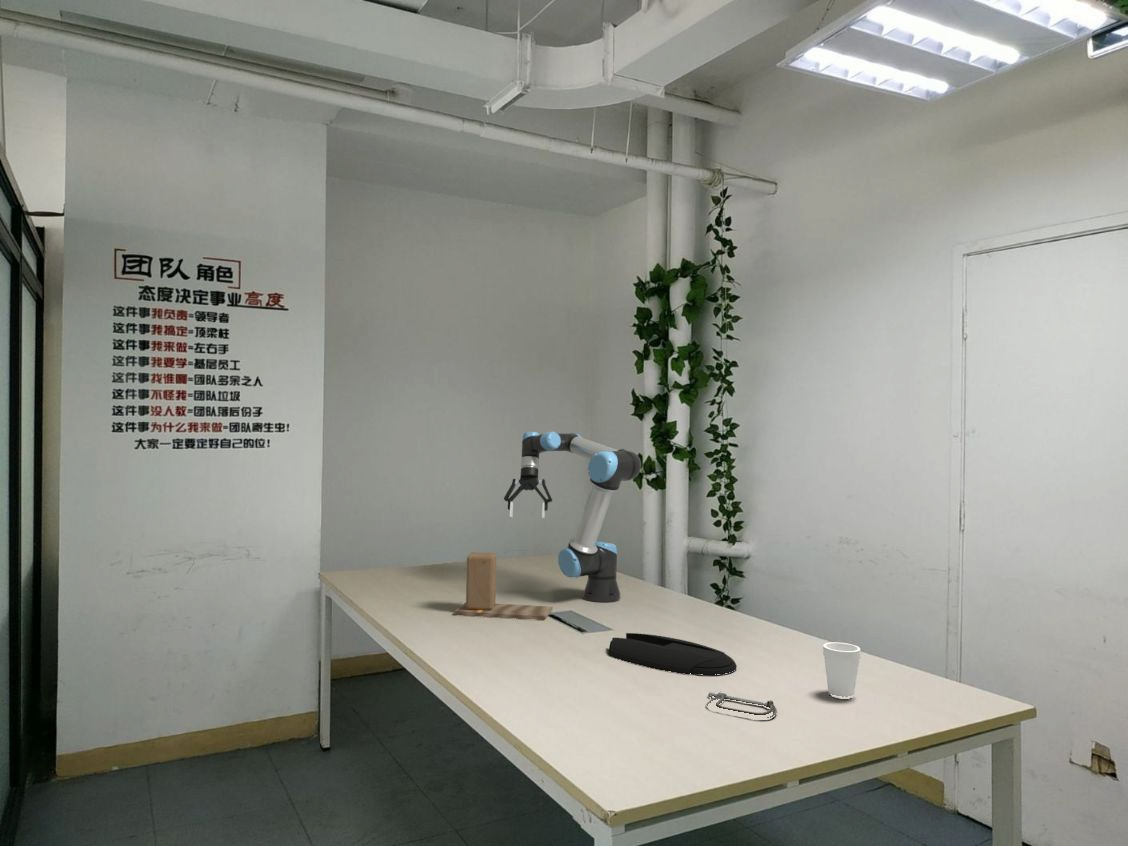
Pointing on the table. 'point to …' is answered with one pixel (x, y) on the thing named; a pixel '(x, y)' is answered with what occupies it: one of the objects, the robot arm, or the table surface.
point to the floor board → (508, 611)
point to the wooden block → (481, 581)
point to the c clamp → (724, 696)
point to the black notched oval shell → (671, 654)
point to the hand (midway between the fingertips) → (527, 518)
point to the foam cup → (841, 667)
